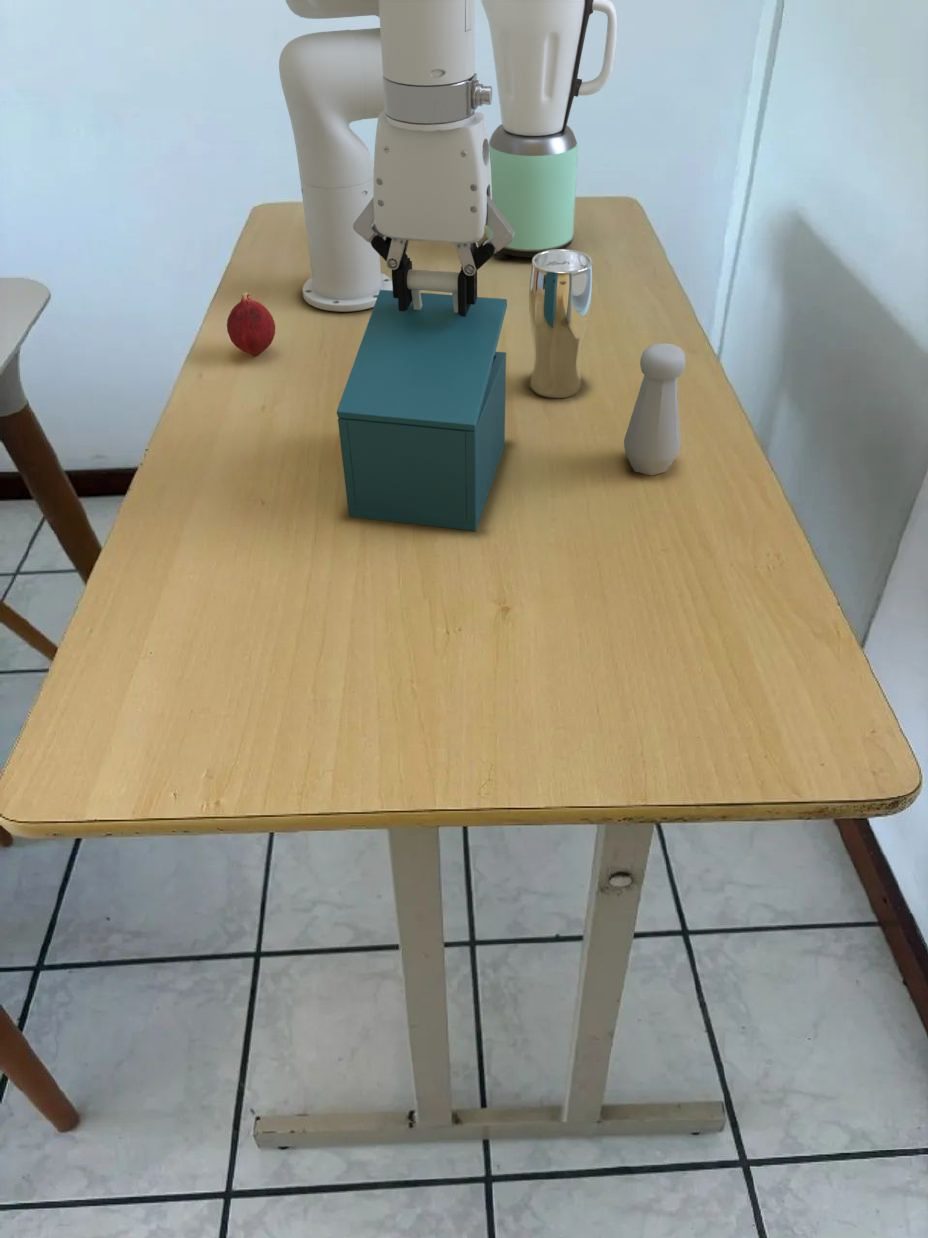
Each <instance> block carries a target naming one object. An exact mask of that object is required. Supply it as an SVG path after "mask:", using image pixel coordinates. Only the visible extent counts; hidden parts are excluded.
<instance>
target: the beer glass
mask: <svg viewBox="0 0 928 1238" xmlns="http://www.w3.org/2000/svg"><path fill="white" fill-rule="evenodd" d="M593 263H594V260H593V258H592V257H591V255H588V254H587V253H585V252H583V251H579V250H576V249H575V250H574V249H568V248H566V249H553V250H547V251H543V252H541V253H538V254H537V255H535V256H534V257H532V259H531V270H530V278H529V289H528V313H529V314H528V315H529V325H530V331H531V338H532V345H533V356H534V357H533V366H532V371H531V374H530V380H529V387H530V390H531V391H532V392H534V393H535V394H536V395H538V396H541V397H543V398H548V399H565V398H569V397H572V396H574V395H576V394H578V393H579V392H580V391H581V389H582V375H581V368H580V367H581V364H580V361H581V352H582V349H583V343H584V340H585V337H586V333H587V329H588V324H589V322H590V321H589V320H590V316H591V309H592V300H593Z"/></svg>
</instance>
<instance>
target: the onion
mask: <svg viewBox="0 0 928 1238" xmlns="http://www.w3.org/2000/svg"><path fill="white" fill-rule="evenodd" d="M226 330H227V334H228V337H229V339H230V341H231V343H232V344H233V345H234V347H236V348H237V349H239V350H240V351H241V352H243V353H245V354H247V355H250V356H252V357H258V356H260V355H261V354H262V353H264V351H266V350H267V349H268V348H269V347H270V345H271V344H272V343H273V340H274V338H275V335H276V322H275V320H274V317H273V315H272V313H271V312H270V311H269V309H268V308H267V307H266V306H265V305H264V304H262V303H261V302H259V301H257V300H254V299H252V294H251V293H249V292H246V291H245V292H243V293H242V294H241V298H240V302H238V303H237V304H236V305H234V306H233V308H232V309H231V310H230V313H229V314H228V317H227V319H226Z"/></svg>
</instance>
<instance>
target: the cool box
mask: <svg viewBox="0 0 928 1238" xmlns="http://www.w3.org/2000/svg"><path fill="white" fill-rule="evenodd" d="M506 375H507V352H506V351H505V352H504V351H497V350H496V351H495V355H494V359H493V363H492V367H491V371H490V375H489V379H488V383H487V387H486V391H485V395H484V399H483V403H482V407H481V411H480V415H479V419H478V423H477V427H476V430H475V431H470V430H460V429H450V428H440V427H430V426H419V425H409V424H399V423H389V422H378V421H368V420H358V419H348V418H338V417H337V424H338V433H339V442H340V451H341V459H342V460H341V461H342V469H343V475H344V476H343V477H344V485H345V486H344V487H345V494H346V495H345V496H346V502H347V503H346V504H347V509H348V512H347V513H348V517H350V518H360V519H368V520H376V521H385V522H393V523H402V524H411V525H419V526H428V527H437V528H444V529H445V528H447V529H454V530H461V531H462V530H463V531H472V532H476V531H477V529H478V526H479V524H480V520H481V518H482V514H483V511H484V508H485V505H486V502H487V499H488V496H489V493H490V490H491V487H492V484H493V481H494V478H495V475H496V472H497V469H498V466H499V463H500V460H501V457H502V453H503V451H504V449H505V445H506V444H505V443H506V442H505V439H506V437H505V436H506V384H507V383H506V380H507V377H506Z"/></svg>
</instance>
